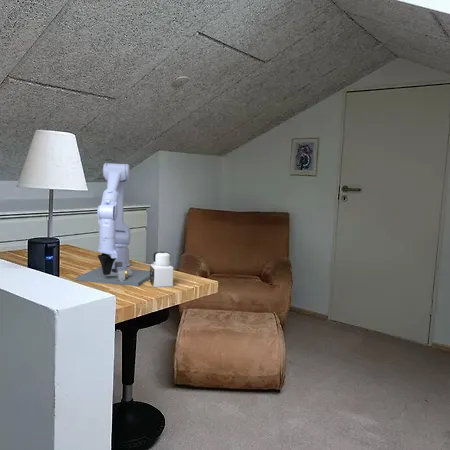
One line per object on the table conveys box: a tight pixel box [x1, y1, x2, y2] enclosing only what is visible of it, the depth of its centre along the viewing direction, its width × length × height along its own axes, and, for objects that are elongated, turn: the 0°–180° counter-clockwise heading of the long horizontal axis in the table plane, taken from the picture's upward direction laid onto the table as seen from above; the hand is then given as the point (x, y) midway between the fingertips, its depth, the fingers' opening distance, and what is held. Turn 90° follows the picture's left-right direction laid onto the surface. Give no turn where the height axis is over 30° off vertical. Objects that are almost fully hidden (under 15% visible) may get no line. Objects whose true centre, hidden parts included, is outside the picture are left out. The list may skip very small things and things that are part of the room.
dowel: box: [125, 270, 129, 279], centre depth 166 cm, size 2×2×3 cm
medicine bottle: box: [149, 251, 174, 288], centre depth 164 cm, size 7×7×12 cm
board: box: [75, 262, 150, 287], centre depth 172 cm, size 20×24×6 cm
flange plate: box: [107, 266, 132, 280], centre depth 169 cm, size 15×9×4 cm, turn 20°
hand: (106, 274), depth 164 cm, fingers closed
